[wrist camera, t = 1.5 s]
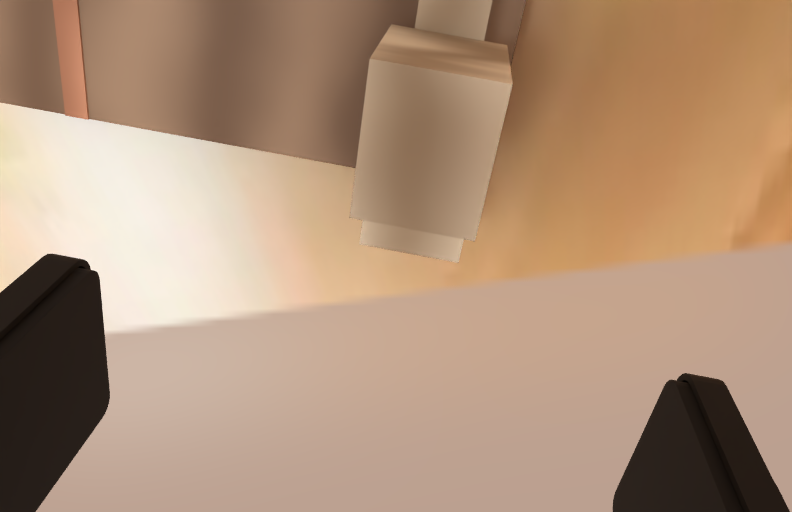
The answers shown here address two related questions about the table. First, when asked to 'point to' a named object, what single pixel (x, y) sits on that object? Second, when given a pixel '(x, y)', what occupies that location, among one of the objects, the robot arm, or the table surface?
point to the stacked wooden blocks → (430, 130)
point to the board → (212, 65)
